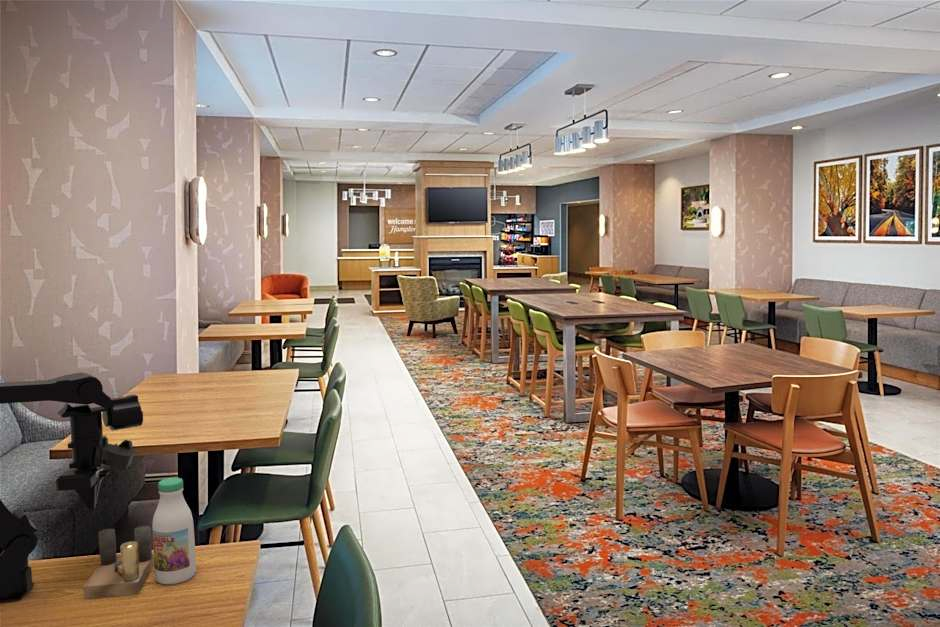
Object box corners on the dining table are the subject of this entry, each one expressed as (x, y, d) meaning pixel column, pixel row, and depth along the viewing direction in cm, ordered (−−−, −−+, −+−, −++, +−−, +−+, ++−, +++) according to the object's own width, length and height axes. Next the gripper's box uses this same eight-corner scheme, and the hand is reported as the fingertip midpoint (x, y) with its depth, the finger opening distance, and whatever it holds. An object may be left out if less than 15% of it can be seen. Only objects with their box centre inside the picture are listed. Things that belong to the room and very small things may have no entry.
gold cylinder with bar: (114, 572, 138) (112, 540, 138) (130, 567, 141) (128, 536, 140) (126, 582, 134) (124, 549, 134) (142, 576, 137) (140, 544, 136)
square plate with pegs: (83, 599, 134) (80, 553, 133) (104, 571, 146) (101, 529, 145) (138, 594, 136) (136, 549, 135) (155, 566, 147) (152, 524, 146)
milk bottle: (167, 567, 147) (162, 474, 145) (203, 568, 146) (198, 474, 144) (147, 584, 139) (141, 486, 137) (184, 586, 139) (179, 487, 137)
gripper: (115, 445, 136) (120, 523, 137) (141, 421, 154) (145, 490, 156) (52, 448, 134) (57, 528, 135) (86, 424, 152) (91, 494, 154)
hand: (91, 509), depth 145 cm, fingers closed
